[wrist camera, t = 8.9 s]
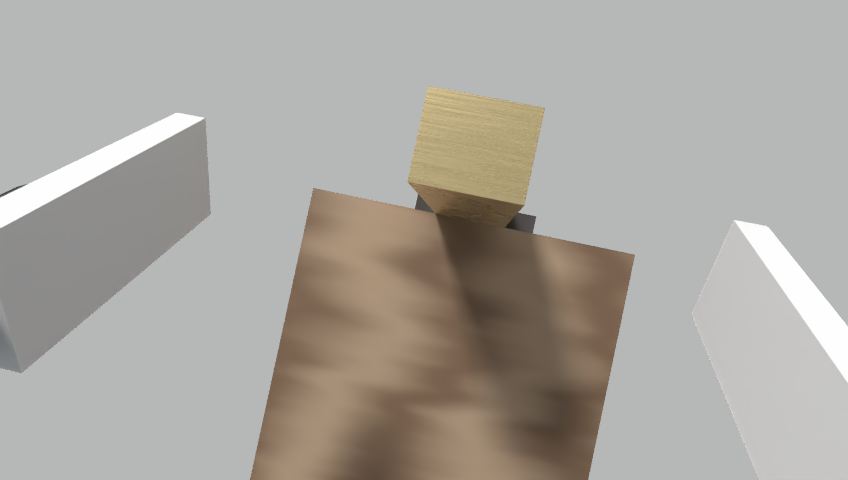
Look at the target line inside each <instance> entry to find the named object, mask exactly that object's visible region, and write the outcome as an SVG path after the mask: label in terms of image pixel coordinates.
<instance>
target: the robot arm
mask: <svg viewBox="0 0 848 480" xmlns="http://www.w3.org/2000/svg"><path fill="white" fill-rule="evenodd" d="M210 213H211V212H210V195H209V177H208V158H207V141H206V122H205V118H202V117H197V116H192V115H187V114H181V113H175V114H173V115H171V116H169V117H167V118H165V119H163V120H161V121H159V122H157V123H154V124H152V125H150V126H148V127H146V128H144V129H142V130H140V131H138V132H136V133H134V134H132V135H130V136H127V137H125V138H123V139H121V140H119V141H117V142H115V143H113V144H111V145H109V146H107V147H105V148H102V149H100V150H98V151H96V152H94V153H92V154H90V155H88V156H86V157H84V158H82V159H80V160H77V161H75V162H73V163H71V164H69V165H67V166H65V167H63V168H61V169H59V170H57V171H55V172H52V173H50V174H48V175H46V176H44V177H42V178H40V179H38V180H36V181H34V182H32V183H30V184H26V185H23V186H19V187H16V188H14V189H12V190H10V191H8V192H5V193H3V194H1V195H0V368H3V369H7V370H11V371H15V372H19V373H22V372H23V371H24V370H26V369H27V368H28V367H29V366H30V365H32V364H33V363H34V362H35V361H36V360H38V359H39V358H40V357H41V356H42V355H44V354H45V353H46V352H47V351H48V350H49V349H51V348H52V347H53V346H54V345H55V344H57V343H58V342H59V341H60V340H61V339H62V338H64V337H65V336H66V335H67V334H69V333H70V332H71V331H72V330H73V329H74V328H76V327H77V326H78V325H79V324H80V323H82V322H83V321H84V320H85V319H86V318H88V317H89V316H90V315H91V314H92V313H94V312H95V311H96V310H97V309H98V308H99V307H101V306H102V305H103V304H104V303H105V302H107V301H108V300H109V299H110V298H111V297H113V296H114V295H115V294H116V293H117V292H118V291H120V290H121V289H122V288H123V287H124V286H126V285H127V284H128V283H129V282H130V281H132V280H133V279H134V278H135V277H136V276H137V275H139V274H140V273H141V272H142V271H144V270H145V269H146V268H147V267H148V266H149V265H151V264H152V263H153V262H154V261H155V260H157V259H158V258H159V257H160V256H161V255H163V254H164V253H165V252H166V251H167V250H168V249H170V248H171V247H172V246H173V245H174V244H176V243H177V242H178V241H179V240H180V239H181V238H183V237H184V236H185V235H186V234H188V233H189V232H190V231H191V230H192V229H194V228H195V227H196V226H197V225H198V224H199V223H200V222H202V221H203V220H204V219H205V218H207V217H208V216H209V215H210ZM691 315H692V318H693V320H694V323H695V325H696V327H697V330H698V332H699V335H700V337H701V339H702V342H703V345H704V347H705V349H706V352H707V354H708V357H709V359H710V362H711V364H712V367H713V369H714V371H715V374H716V376H717V379H718V381H719V384H720V386H721V388H722V391H723V393H724V396H725V398H726V401H727V403H728V406H729V408H730V410H731V413H732V415H733V418H734V420H735V422H736V425H737V428H738V430H739V432H740V435H741V437H742V440H743V442H744V445H745V447H746V450H747V452H748V454H749V457H750V459H751V462H752V464H753V467H754V469H755V472H756V474H757V476H758V479H759V480H848V326H847V325H846V324H845V322H844V321H843V320H842V319H841V317H840V316H839V315H838V314H837V313H836V311H835V310H834V309H833V307H832V306H831V305H830V304H829V303H828V301H827V300H826V299H825V298H824V296H823V295H822V294H821V293H820V291H819V290H818V289H817V287H816V286H815V285H814V284H813V282H812V281H811V280H810V279H809V277H808V276H807V275H806V274H805V272H804V271H803V270H802V269H801V267H800V266H799V265H798V264H797V263H796V261H795V260H794V259H793V258H792V256H791V255H790V254H789V253H788V251H787V250H786V249H785V248H784V246H783V245H782V244H781V243H780V242H779V240H778V239H777V238H776V236H775V235H774V234H773V233H772V231H771V230H770V229H769V228H768V226H763V225H757V224H752V223H748V222H742V221H737V220H734V221H733V223H732V225H731V227H730V229H729V232H728V234H727V237H726V238H725V240H724V243H723V245H722V247H721V249H720V252H719V254H718V256H717V258H716V260H715V263H714V265H713V267H712V269H711V271H710V274H709V276H708V279H707V280H706V283H705V285H704V287H703V289H702V291H701V294H700V296H699V298H698V300H697V303H696V305H695V307H694V309H693V311H692V314H691Z"/></svg>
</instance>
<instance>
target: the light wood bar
mask: <svg viewBox="0 0 848 480" xmlns="http://www.w3.org/2000/svg"><path fill="white" fill-rule="evenodd" d="M544 109H545V108H542V107H538V106H532V105H527V104H521V103H516V102H510V101H505V100H500V99H494V98H489V97H483V96H478V95H473V94H467V93H462V92H456V91H451V90H446V89H440V88H435V87H429V86H428V89H427V94H426V98H425V103H424V108H423V112H422V117H421V122H420V126H419V131H418V136H417V140H416V145H415V150H414V154H413V159H412V164H411V168H410V173H409V177H408V183H409V184H410V185H411V186H412V187H413V188H414V189H415V190H416V192H417V193H418V194H419V195H420V196H421V198H422V199H423V200H424V201H425V202H426V203H427V204H428V206H429V207H430V208H431V209H432V210H433V211H434V212H435V213H436V214H440V215H445V216H450V217H455V218H460V219H465V220H469V221H474V222H479V223H484V224H489V225H494V226H498V227H503V228H505V226H506V225H507V224H508V223H509V222H510V221H511V220H512V219H513V217H514V216H515V215H516V214H517V213H518V212H519V211H520V210H521V208H522V207H523V206H524V204H525V199H526V194H527V190H528V185H529V180H530V175H531V171H532V166H533V161H534V157H535V152H536V147H537V142H538V137H539V133H540V128H541V124H542V119H543V114H544Z"/></svg>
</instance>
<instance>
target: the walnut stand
mask: <svg viewBox="0 0 848 480" xmlns="http://www.w3.org/2000/svg"><path fill="white" fill-rule="evenodd" d="M535 219H536V216H531V215H526V214H521V213H517V214H516V215H515V216H514V217H513V219H512V220H511V221H510V222H509V223H508V224H507V225H506V226H505V228H503V227H498V226H494V225H489V224H484V223H479V222H474V221H469V220H465V219H460V218H455V217H450V216H445V215H440V214H436V213H435V212H434V211H433V210H432V209H431V208H430V207H429V206H428V204H427V203H426V202H425V201H424V200H423V199H422V198H421V196H420V195H419V194H418V198H417V203H416V207H415V209H411V208H406V207H402V206H397V205H392V204H388V203H383V202H378V201H373V200H368V199H363V198H358V197H354V196H349V195H344V194H339V193H334V192H330V191H325V190H320V189H315V188H313V193H312V197H311V202H310V206H309V211H308V216H307V220H306V225H305V229H304V234H303V239H302V243H301V248H300V253H299V257H298V262H297V266H296V271H295V276H294V280H293V285H292V289H291V295H290V299H289V303H288V308H287V312H286V318H285V322H284V326H283V331H282V336H281V340H280V345H279V349H278V354H277V359H276V363H275V368H274V372H273V377H272V381H271V386H270V391H269V395H268V400H267V405H266V409H265V414H264V418H263V423H262V428H261V432H260V437H259V441H258V446H257V451H256V455H255V460H254V465H253V469H252V474H251V478H250V480H588V477H589V472H590V468H591V463H592V458H593V453H594V448H595V444H596V439H597V434H598V429H599V424H600V419H601V414H602V410H603V405H604V400H605V396H606V391H607V386H608V381H609V376H610V372H611V367H612V362H613V357H614V352H615V348H616V342H617V338H618V333H619V328H620V324H621V319H622V314H623V309H624V304H625V300H626V295H627V290H628V285H629V280H630V276H631V271H632V266H633V261H634V257H635V255H633V254H628V253H624V252H618V251H614V250H609V249H604V248H599V247H595V246H590V245H585V244H580V243H575V242H570V241H566V240H561V239H556V238H551V237H547V236H542V235H537V234H533V229H534V224H535Z"/></svg>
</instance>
